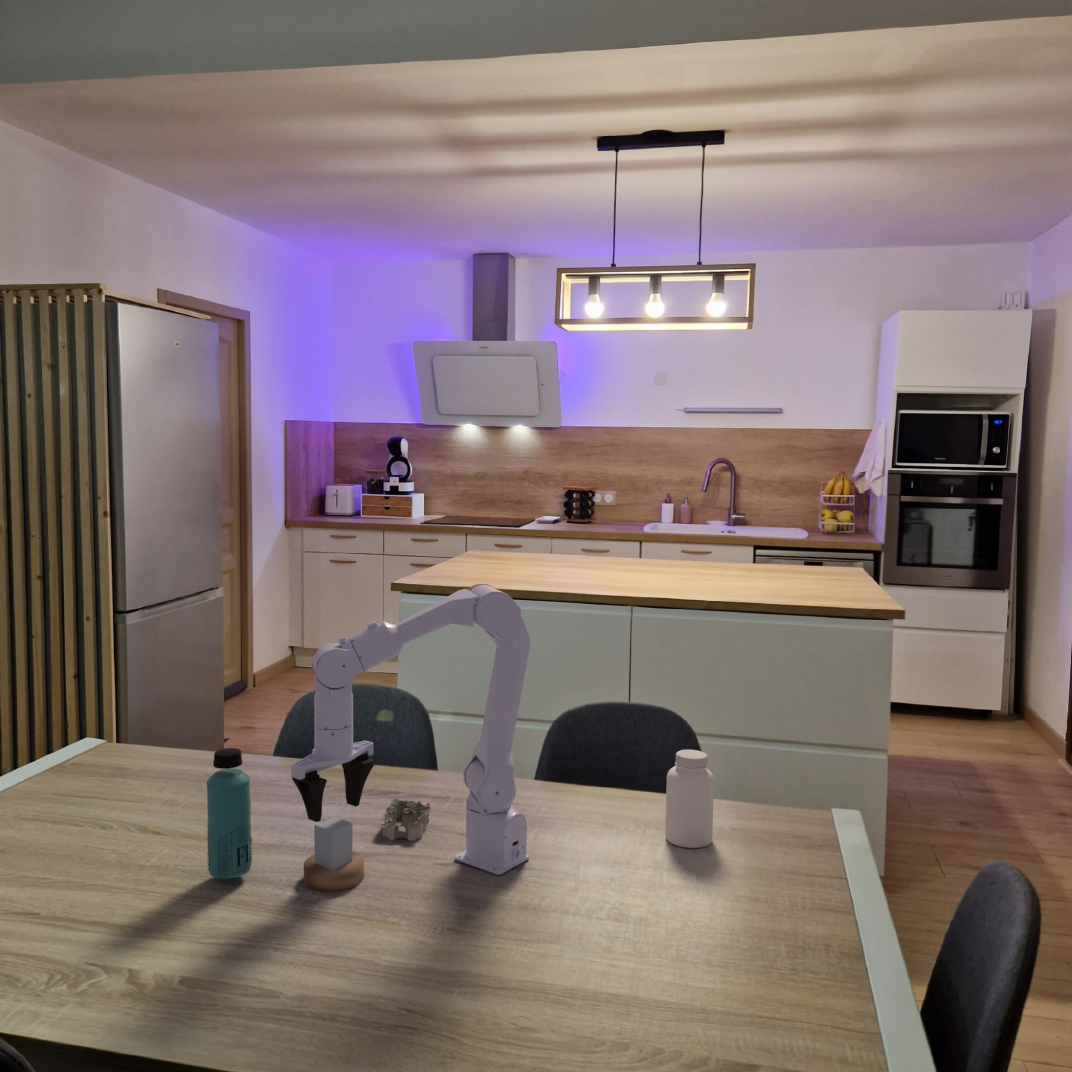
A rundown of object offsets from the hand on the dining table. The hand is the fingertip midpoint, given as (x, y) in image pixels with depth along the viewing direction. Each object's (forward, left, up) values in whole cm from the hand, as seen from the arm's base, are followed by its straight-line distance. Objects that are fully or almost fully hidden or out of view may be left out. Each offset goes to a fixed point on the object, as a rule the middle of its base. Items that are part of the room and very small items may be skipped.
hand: (334, 812), depth 141 cm
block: (0, 0, -8) cm, 8 cm away
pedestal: (0, 0, -10) cm, 10 cm away
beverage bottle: (+12, +10, -11) cm, 19 cm away
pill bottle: (-36, -47, -11) cm, 60 cm away
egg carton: (+5, -20, -11) cm, 24 cm away
